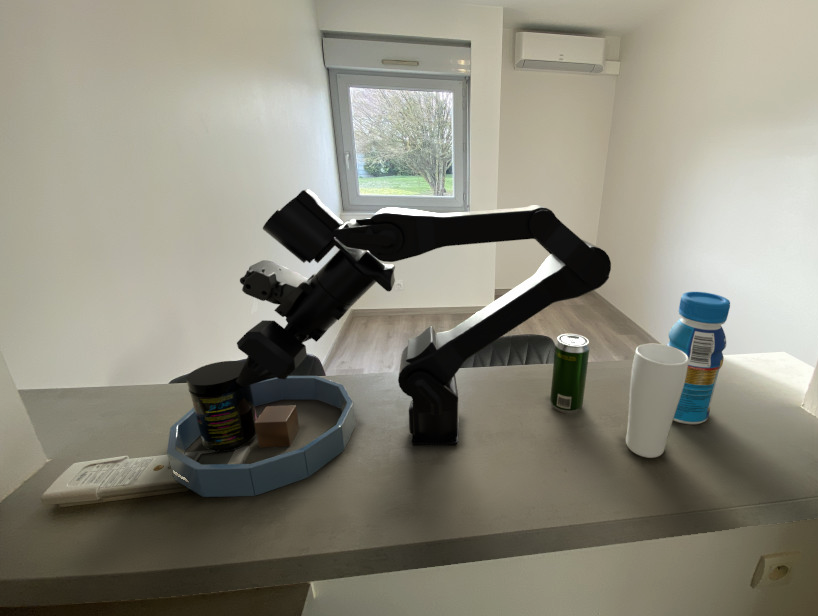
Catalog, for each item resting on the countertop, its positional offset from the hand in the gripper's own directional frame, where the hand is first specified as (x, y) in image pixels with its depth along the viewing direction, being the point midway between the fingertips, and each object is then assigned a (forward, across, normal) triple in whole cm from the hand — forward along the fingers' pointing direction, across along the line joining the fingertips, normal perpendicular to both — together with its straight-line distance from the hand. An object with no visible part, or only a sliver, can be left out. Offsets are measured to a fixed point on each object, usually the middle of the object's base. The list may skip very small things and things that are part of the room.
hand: (258, 366), depth 54 cm
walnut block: (+7, 0, +9) cm, 11 cm away
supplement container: (+12, 0, +4) cm, 13 cm away
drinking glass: (-30, +3, +46) cm, 54 cm away
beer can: (-23, -8, +39) cm, 46 cm away
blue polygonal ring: (+8, 0, +8) cm, 11 cm away
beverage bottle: (-37, -6, +53) cm, 64 cm away
